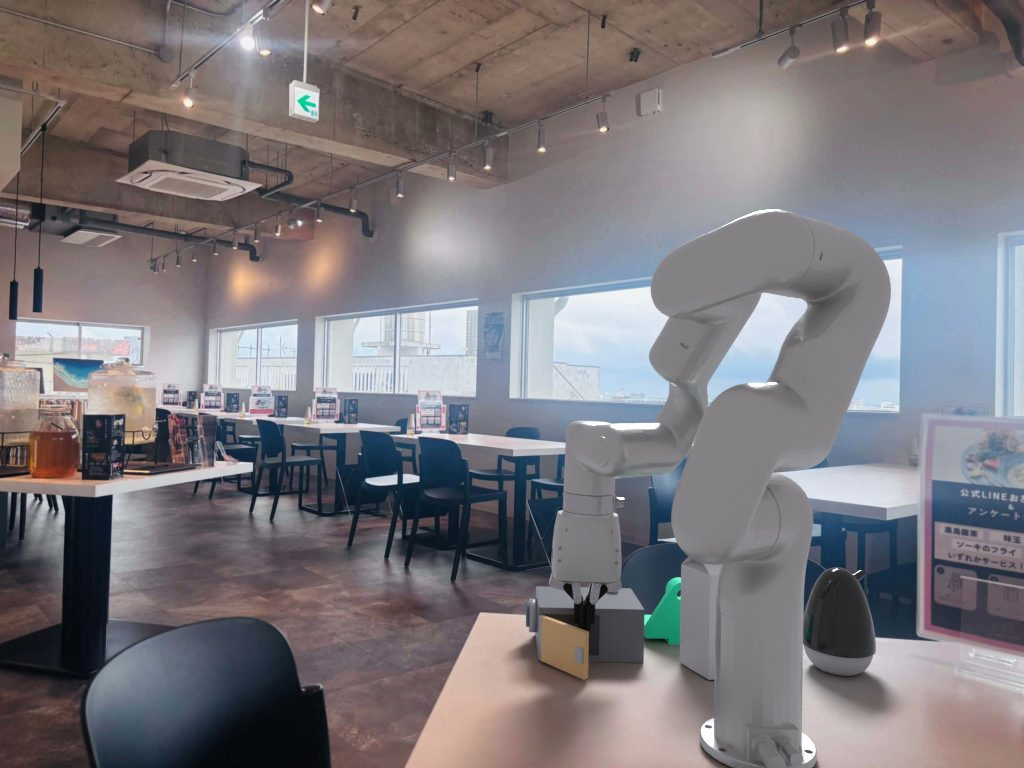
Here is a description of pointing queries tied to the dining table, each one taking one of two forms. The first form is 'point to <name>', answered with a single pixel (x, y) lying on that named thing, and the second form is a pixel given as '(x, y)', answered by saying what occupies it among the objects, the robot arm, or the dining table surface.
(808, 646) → the black and white egg
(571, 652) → the tan cabinet door
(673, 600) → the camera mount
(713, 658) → the milk carton
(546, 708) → the dining table surface
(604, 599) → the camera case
